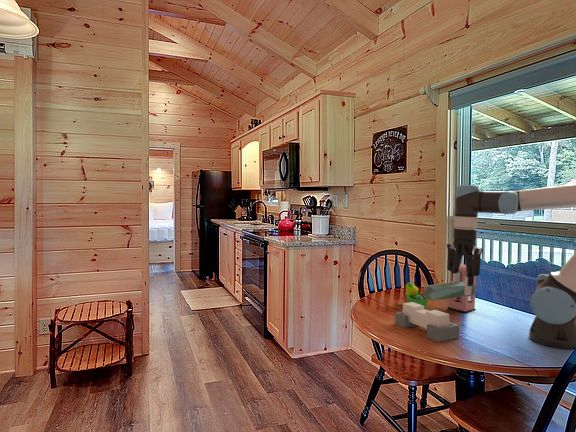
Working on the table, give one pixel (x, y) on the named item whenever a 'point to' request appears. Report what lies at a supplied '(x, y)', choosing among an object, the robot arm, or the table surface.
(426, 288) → the grey-green long bar
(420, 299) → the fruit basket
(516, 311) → the table surface
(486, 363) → the table surface
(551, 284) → the robot arm
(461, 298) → the miniature model
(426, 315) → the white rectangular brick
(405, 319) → the cradle
